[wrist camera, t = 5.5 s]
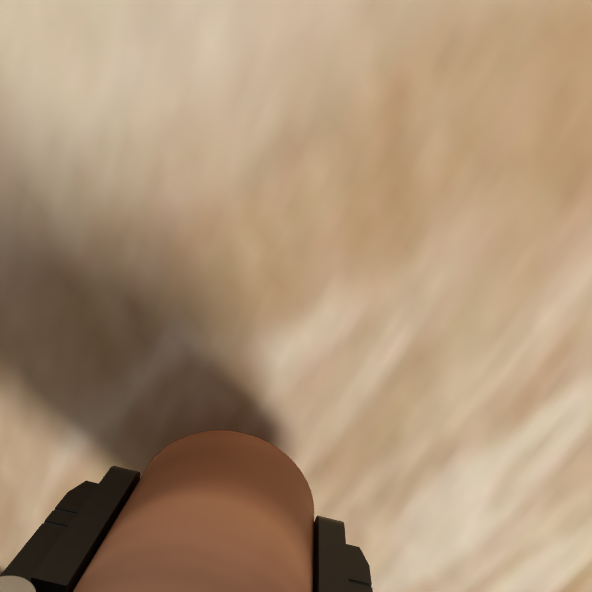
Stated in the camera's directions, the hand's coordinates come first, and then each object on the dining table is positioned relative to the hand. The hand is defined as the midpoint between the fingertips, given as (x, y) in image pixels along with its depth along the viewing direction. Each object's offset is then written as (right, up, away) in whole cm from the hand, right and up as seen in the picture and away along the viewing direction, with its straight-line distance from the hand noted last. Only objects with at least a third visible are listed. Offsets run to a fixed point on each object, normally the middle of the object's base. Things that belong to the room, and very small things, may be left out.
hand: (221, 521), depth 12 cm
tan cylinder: (0, 0, 0) cm, 0 cm away
